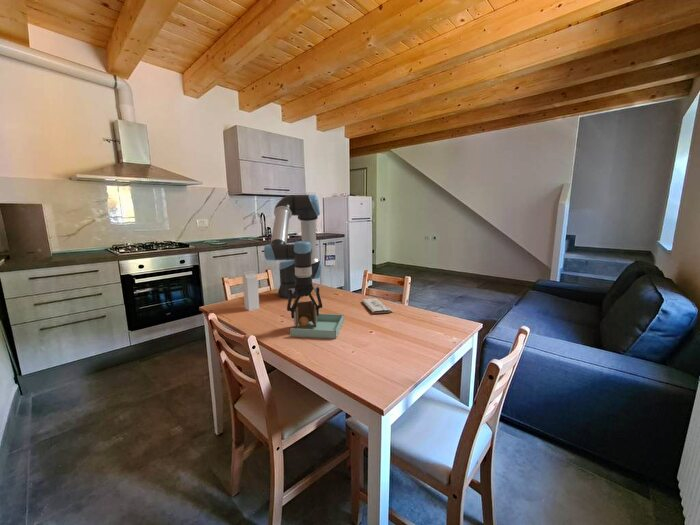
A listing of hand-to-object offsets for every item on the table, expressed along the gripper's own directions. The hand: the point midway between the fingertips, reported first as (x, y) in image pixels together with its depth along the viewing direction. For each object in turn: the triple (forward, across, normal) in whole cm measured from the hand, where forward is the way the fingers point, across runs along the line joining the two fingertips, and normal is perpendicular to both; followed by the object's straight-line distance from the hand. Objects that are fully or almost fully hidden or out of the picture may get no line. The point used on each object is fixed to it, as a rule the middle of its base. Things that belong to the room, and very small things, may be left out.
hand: (305, 323), depth 132 cm
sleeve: (+1, 0, 0) cm, 1 cm away
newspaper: (+3, +42, +19) cm, 46 cm away
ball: (-1, -1, +1) cm, 1 cm away
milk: (+2, -26, +35) cm, 44 cm away
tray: (+2, +6, -2) cm, 7 cm away
